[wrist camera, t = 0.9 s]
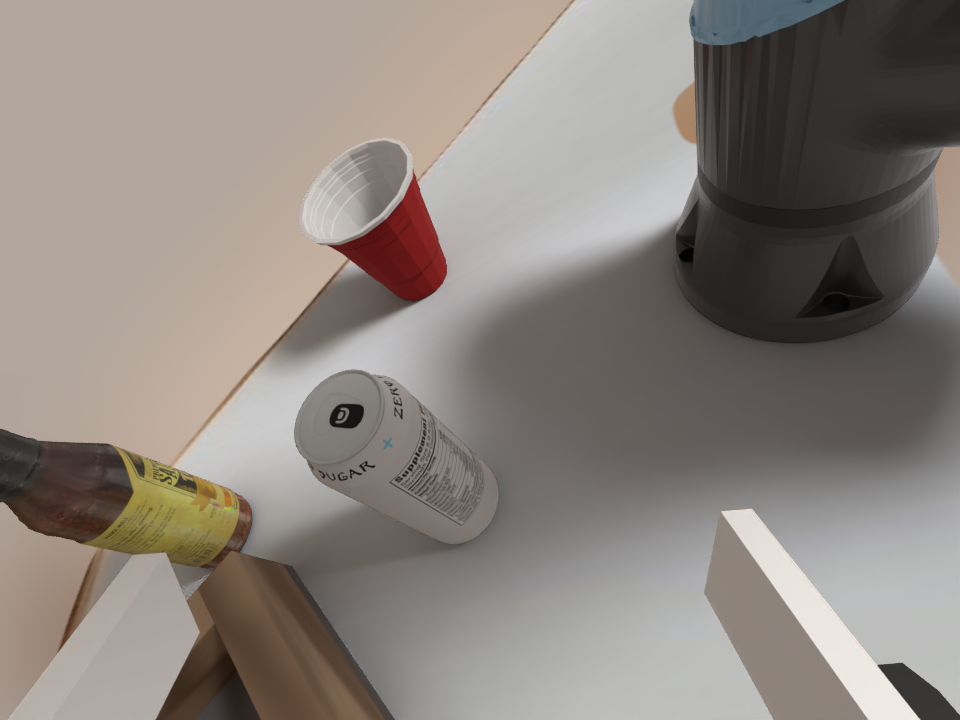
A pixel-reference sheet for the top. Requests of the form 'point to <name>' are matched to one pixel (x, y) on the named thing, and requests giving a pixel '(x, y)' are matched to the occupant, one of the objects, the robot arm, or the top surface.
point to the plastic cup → (377, 218)
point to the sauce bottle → (120, 501)
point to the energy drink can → (394, 456)
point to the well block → (266, 653)
